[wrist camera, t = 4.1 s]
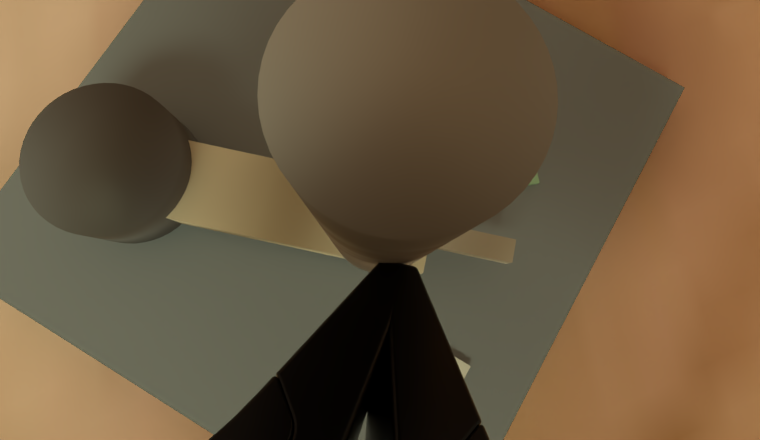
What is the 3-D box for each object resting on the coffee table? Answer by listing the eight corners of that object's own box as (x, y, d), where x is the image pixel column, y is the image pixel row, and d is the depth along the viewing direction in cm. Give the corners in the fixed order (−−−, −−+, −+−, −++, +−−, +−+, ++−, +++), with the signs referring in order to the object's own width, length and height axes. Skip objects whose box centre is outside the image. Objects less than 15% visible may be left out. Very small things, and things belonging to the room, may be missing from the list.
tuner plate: (429, 555, 15) (434, 578, 13) (-28, 265, 16) (-61, 263, 14) (666, 99, 17) (688, 85, 16) (261, -126, 18) (254, -154, 17)
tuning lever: (47, 227, 14) (-706, 78, 4) (91, 97, 15) (-473, -296, 5) (490, 323, 14) (786, 402, 4) (513, 188, 15) (816, -21, 5)
